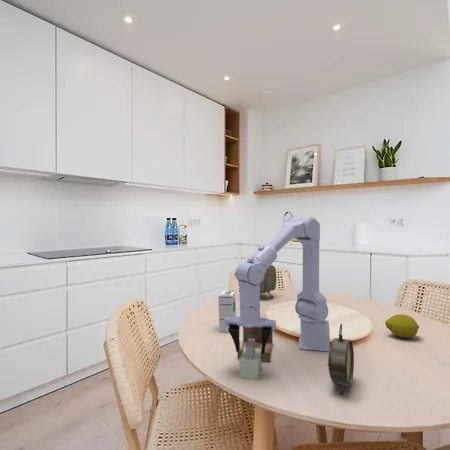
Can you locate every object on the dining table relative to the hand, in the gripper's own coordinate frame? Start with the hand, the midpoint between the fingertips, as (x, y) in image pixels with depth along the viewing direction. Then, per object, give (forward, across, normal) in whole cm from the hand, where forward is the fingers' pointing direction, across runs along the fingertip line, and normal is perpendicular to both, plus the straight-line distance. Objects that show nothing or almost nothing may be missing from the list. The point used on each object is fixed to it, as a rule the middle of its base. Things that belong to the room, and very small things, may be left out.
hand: (250, 351), depth 84 cm
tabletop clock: (+6, -5, +73) cm, 73 cm away
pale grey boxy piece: (+6, 0, 0) cm, 6 cm away
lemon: (+6, +50, +33) cm, 60 cm away
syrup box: (+6, -13, +28) cm, 31 cm away
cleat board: (+6, 0, +12) cm, 14 cm away
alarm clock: (+6, +24, -2) cm, 25 cm away
